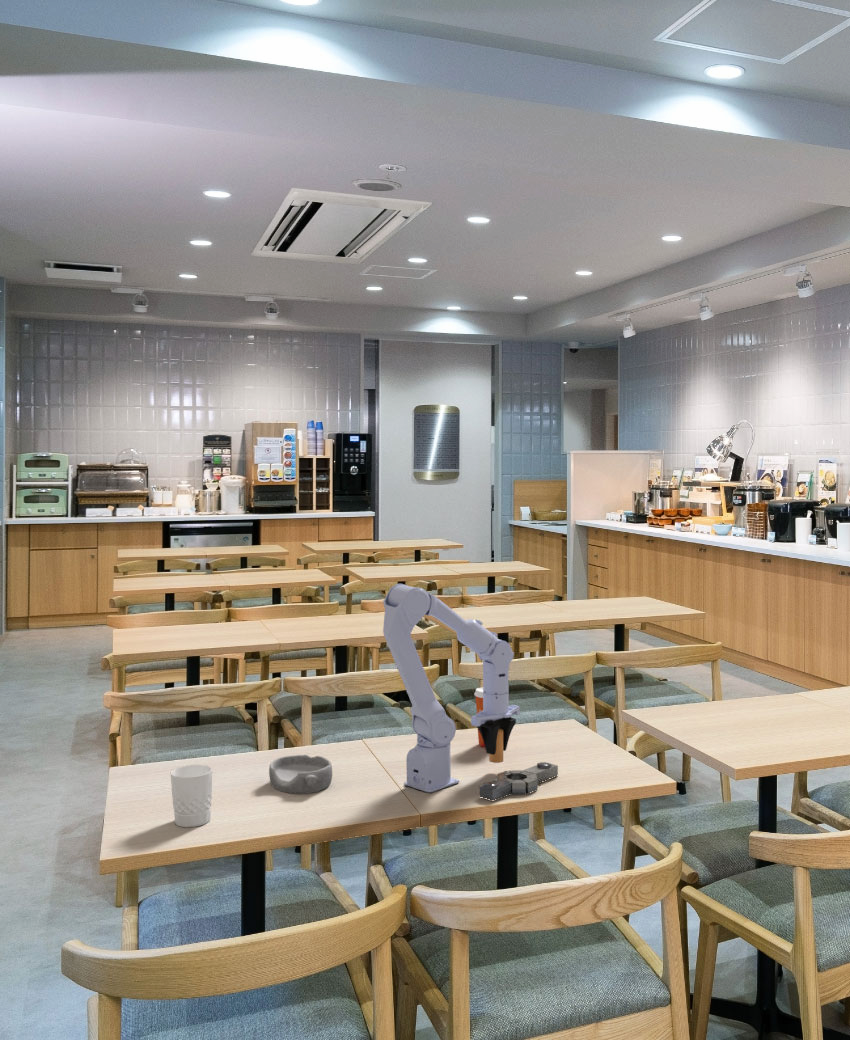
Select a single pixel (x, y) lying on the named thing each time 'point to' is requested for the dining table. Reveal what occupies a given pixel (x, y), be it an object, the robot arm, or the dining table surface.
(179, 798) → the white cup
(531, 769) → the right chain end
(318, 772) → the dish
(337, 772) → the dining table surface
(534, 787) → the left chain end
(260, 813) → the dining table surface
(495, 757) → the orange pin
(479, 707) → the paper cup
